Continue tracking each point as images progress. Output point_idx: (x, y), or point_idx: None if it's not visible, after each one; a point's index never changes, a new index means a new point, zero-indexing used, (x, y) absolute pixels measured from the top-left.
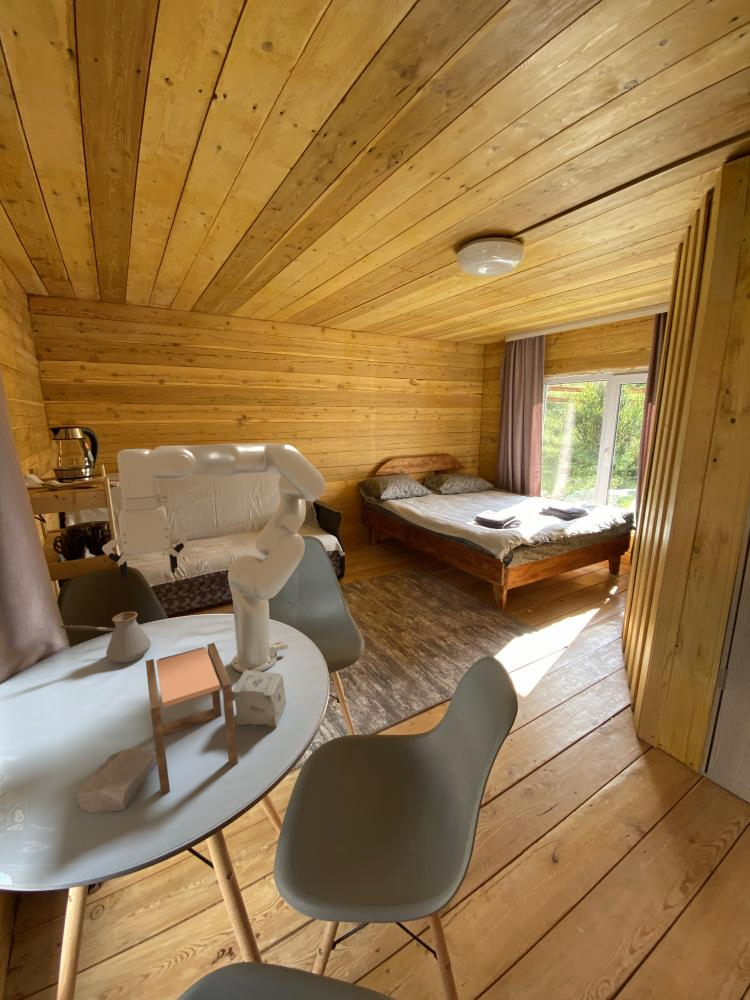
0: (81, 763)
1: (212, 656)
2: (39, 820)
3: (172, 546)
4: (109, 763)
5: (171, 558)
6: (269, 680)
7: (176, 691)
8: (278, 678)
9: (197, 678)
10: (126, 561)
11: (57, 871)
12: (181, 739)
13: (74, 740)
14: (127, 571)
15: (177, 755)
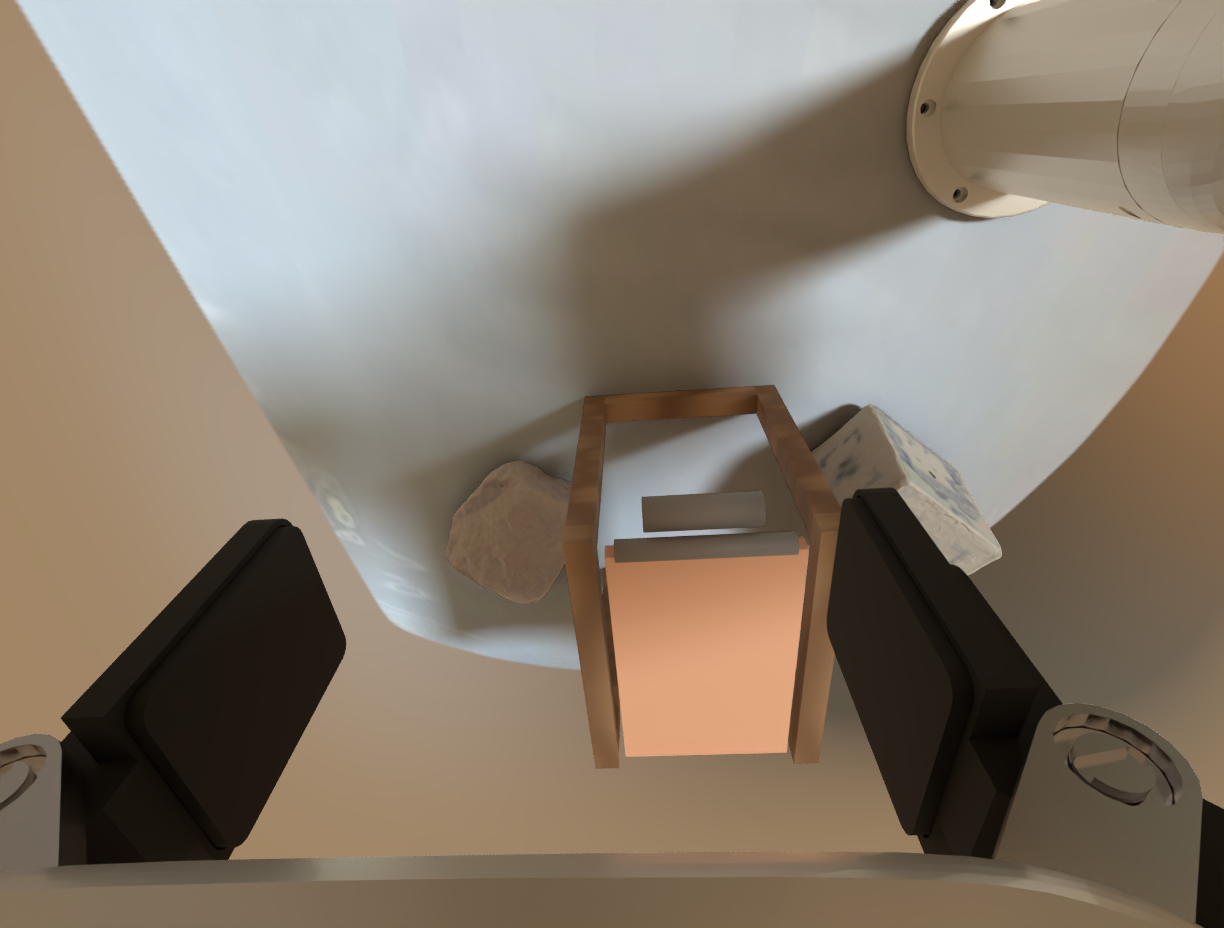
0: (415, 420)
1: (812, 622)
2: (386, 539)
3: (1191, 911)
4: (490, 499)
5: (918, 830)
6: (949, 561)
7: (664, 733)
8: (979, 568)
9: (732, 708)
10: (146, 731)
11: (458, 638)
12: (654, 448)
13: (360, 313)
14: (293, 747)
15: (641, 496)
